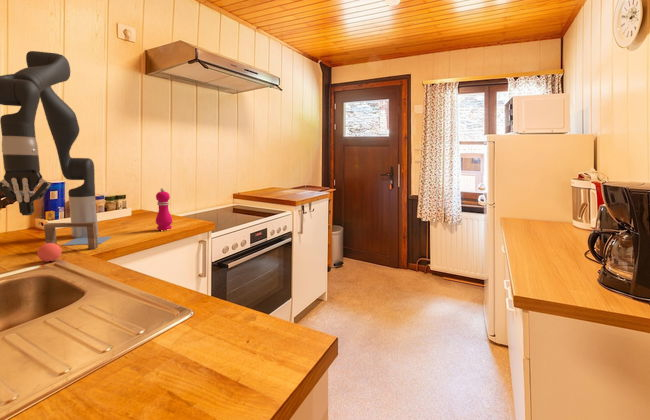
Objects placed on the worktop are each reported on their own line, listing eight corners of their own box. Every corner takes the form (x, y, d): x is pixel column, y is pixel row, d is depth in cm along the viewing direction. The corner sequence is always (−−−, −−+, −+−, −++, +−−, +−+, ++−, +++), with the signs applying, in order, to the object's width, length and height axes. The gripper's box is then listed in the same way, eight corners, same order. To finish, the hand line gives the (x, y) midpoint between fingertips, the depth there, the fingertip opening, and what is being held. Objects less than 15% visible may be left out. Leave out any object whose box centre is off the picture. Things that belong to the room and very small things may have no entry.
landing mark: (76, 238, 142) (76, 237, 142) (112, 236, 146) (111, 236, 146) (62, 245, 130) (61, 244, 130) (100, 243, 133) (100, 243, 133)
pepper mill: (166, 231, 158) (164, 188, 155) (152, 230, 160) (150, 188, 157) (176, 228, 165) (174, 187, 162) (162, 228, 167) (160, 187, 164)
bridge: (50, 249, 124) (48, 223, 122) (97, 247, 128) (95, 221, 126) (46, 251, 121) (44, 224, 120) (94, 249, 125) (92, 223, 124)
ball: (44, 259, 111) (42, 241, 110) (65, 258, 113) (64, 240, 112) (34, 264, 105) (32, 245, 105) (56, 263, 107) (55, 244, 106)
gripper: (55, 154, 100) (60, 212, 103) (1, 153, 97) (7, 213, 99) (41, 153, 93) (47, 216, 95) (-18, 152, 90) (-10, 217, 92)
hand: (27, 214), depth 97 cm, fingers closed
